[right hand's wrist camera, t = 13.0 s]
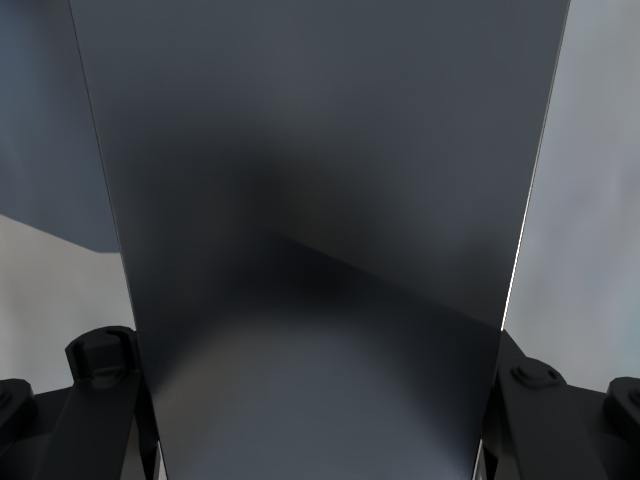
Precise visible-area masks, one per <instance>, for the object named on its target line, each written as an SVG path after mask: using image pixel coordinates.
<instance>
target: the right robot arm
mask: <svg viewBox="0 0 640 480" xmlns="http://www.w3.org/2000/svg"><path fill="white" fill-rule="evenodd" d="M65 352H66V356H67V359H68V362H69V366H70V369H71V373H72V376H73V380H74V384H73V386H71V387H68V388H64V389H59V390H55V391H50V392H45V393H41V394H36V395H34V394H33V391H32V388H31V385H30V384H29V383H28V382H27V381H25V380H23V379H14V378H13V379H6V380H0V480H158V478H159V468H160V459H161V457H160V450H159V445H158V441H159V438H158V433H157V428H156V423H155V418H154V414H153V409H152V404H151V399H150V394H149V389H148V384H147V380H146V375H145V370H144V365H143V360H142V355H141V350H140V345H139V341H138V336H137V331H133V330H132V329H131V328H129V327H124V326H107V327H102V328H98V329H94V330H92V331H90V332H87V333H85V334H82V335H81V336H79V337H78V338H76V339H75V340H73V341H72V342H71V343H70V344H69V345H68V346H67V347H66V348H65ZM481 439H482V445H481V450H480V455H479V459H478V464H477V469H476V474H475V480H480V478H481V477H482V480H640V379H639V378H632V377H620V378H615V379H614V380H613V381H611V382H610V384H609V387H608V390H607V393H602V392H598V391H593V390H588V389H584V388H579V387H575V386H571V385H567V383H566V381H565V380H564V378H563V377H562V376H561V374H560V373H559V372H558V371H556V370H555V369H554V368H552V367H551V366H550V365H547V364H545V363H543V362H541V361H539V360H537V359H533V358H529V357H526V356H525V354H524V353H523V352H522V351H521V349H520V348H519V347H518V346H517V344H516V343H515V342H514V340H513V339H512V338H511V337H510V335H509V334H508V333H507V332H506V330H505V329H503V332H502V337H501V342H500V347H499V352H498V357H497V362H496V367H495V371H494V376H493V381H492V386H491V391H490V396H489V401H488V406H487V410H486V415H485V420H484V425H483V430H482V435H481Z"/></svg>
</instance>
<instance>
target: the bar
mask: <svg viewBox="0 0 640 480" xmlns="http://www.w3.org/2000/svg"><path fill="white" fill-rule="evenodd" d="M69 5H70V9H71V14H72V19H73V24H74V29H75V34H76V39H77V44H78V48H79V53H80V58H81V63H82V68H83V73H84V78H85V83H86V87H87V92H88V97H89V102H90V107H91V112H92V117H93V121H94V126H95V131H96V136H97V141H98V146H99V151H100V156H101V160H102V165H103V170H104V175H105V180H106V185H107V190H108V194H109V199H110V204H111V209H112V214H113V219H114V224H115V229H116V233H117V238H118V243H119V248H120V253H121V258H122V263H123V268H124V272H125V277H126V282H127V287H128V292H129V297H130V302H131V306H132V311H133V316H134V321H135V326H136V331H137V336H138V341H139V345H140V350H141V355H142V360H143V365H144V370H145V375H146V380H147V384H148V389H149V394H150V399H151V404H152V409H153V414H154V418H155V423H156V428H157V433H158V438H159V443H160V448H161V453H162V457H163V462H164V467H165V472H166V477H167V480H472V479H473V474H474V469H475V464H476V459H477V454H478V450H479V445H480V440H481V435H482V430H483V425H484V420H485V415H486V410H487V406H488V401H489V396H490V391H491V386H492V381H493V376H494V371H495V367H496V362H497V357H498V352H499V347H500V342H501V337H502V332H503V327H504V323H505V318H506V313H507V308H508V303H509V298H510V293H511V288H512V284H513V279H514V274H515V269H516V264H517V259H518V254H519V249H520V244H521V240H522V235H523V230H524V225H525V220H526V215H527V210H528V205H529V201H530V196H531V191H532V186H533V181H534V176H535V171H536V166H537V161H538V157H539V152H540V147H541V142H542V137H543V132H544V127H545V122H546V118H547V113H548V108H549V103H550V98H551V93H552V88H553V83H554V78H555V74H556V69H557V64H558V59H559V54H560V49H561V44H562V39H563V35H564V30H565V25H566V20H567V15H568V10H569V5H570V0H69Z"/></svg>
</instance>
